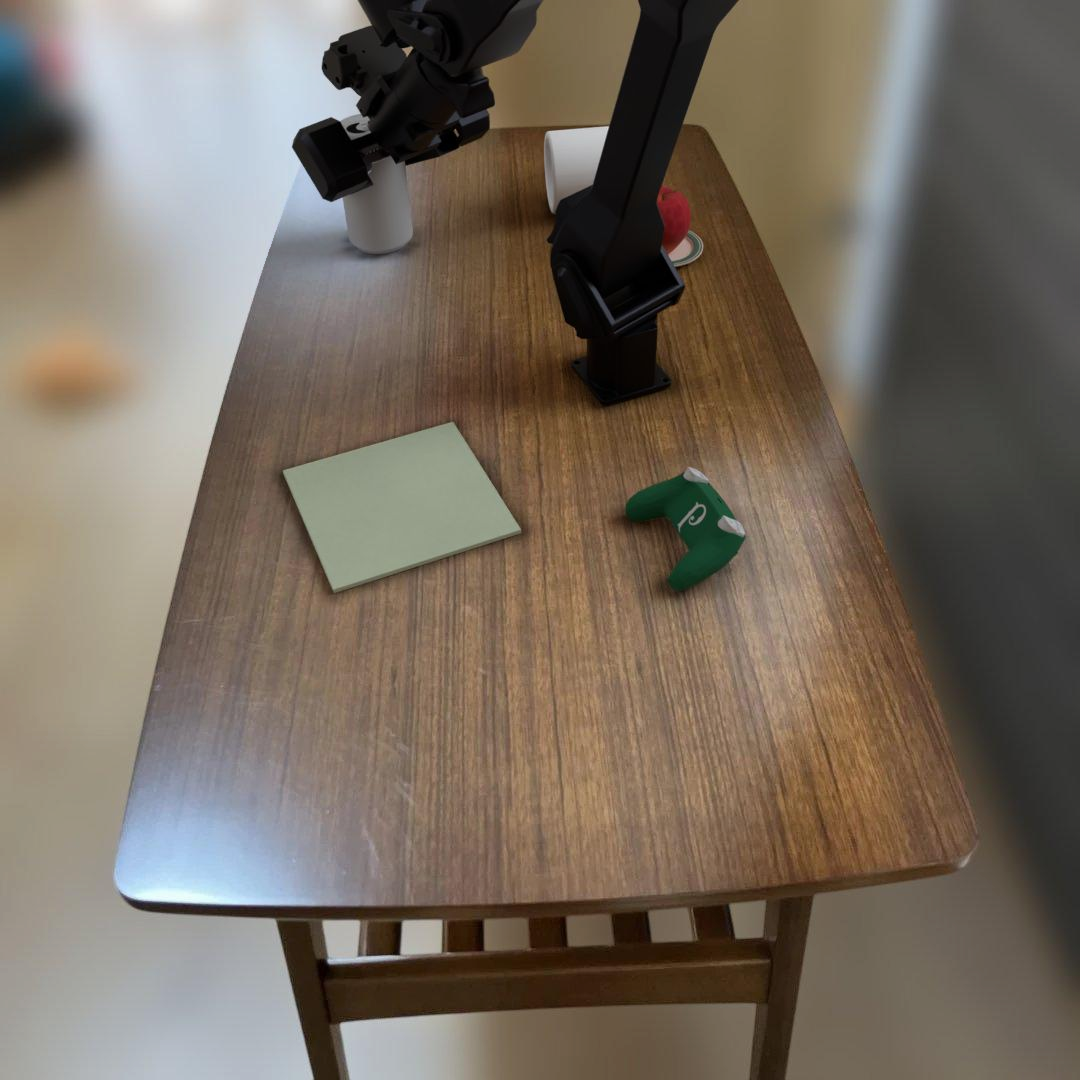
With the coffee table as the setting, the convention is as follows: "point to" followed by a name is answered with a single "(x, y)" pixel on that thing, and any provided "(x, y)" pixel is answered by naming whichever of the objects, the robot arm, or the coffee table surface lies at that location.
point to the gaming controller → (691, 524)
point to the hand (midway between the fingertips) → (364, 175)
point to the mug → (571, 161)
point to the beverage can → (378, 202)
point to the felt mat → (397, 505)
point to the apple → (678, 228)
